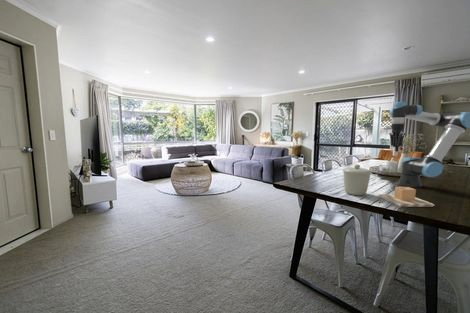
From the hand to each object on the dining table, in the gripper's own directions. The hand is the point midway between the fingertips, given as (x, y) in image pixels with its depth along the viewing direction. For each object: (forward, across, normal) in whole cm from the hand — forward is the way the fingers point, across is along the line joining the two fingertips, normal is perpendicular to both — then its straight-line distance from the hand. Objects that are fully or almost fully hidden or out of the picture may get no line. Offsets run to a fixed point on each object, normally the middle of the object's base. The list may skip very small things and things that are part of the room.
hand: (395, 155), depth 163 cm
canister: (+26, +10, -33) cm, 43 cm away
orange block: (+25, +27, -11) cm, 38 cm away
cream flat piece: (+26, +27, -11) cm, 39 cm away
